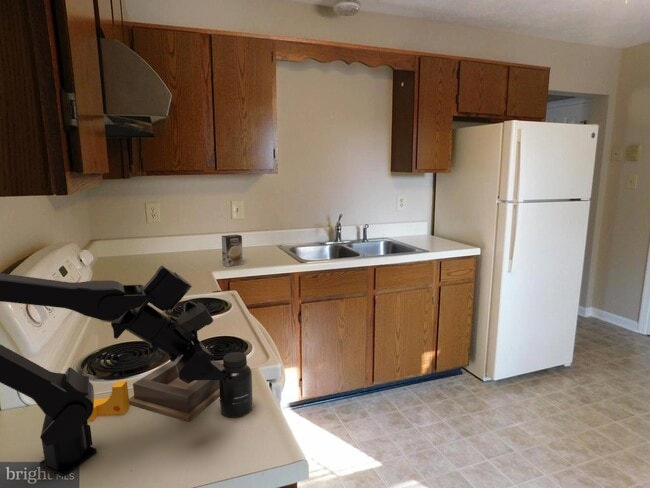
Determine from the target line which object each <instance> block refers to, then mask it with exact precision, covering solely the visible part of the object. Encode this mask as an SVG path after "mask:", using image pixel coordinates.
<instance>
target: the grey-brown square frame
mask: <svg viewBox="0 0 650 488" xmlns="http://www.w3.org/2000/svg"><path fill="white" fill-rule="evenodd" d="M182 356H183V355H181V356H180V357H177V358H176V359H175V361H174V362H172V361H171V360H169V362H167V363H165V364H164V365H162V366H160V367H159V368H157V369H154V370H153V371H151V372H150V373H148V374H147V375H145V376H143V377H142V378H140V379H138V380H136V381H135V382H134V383H132V388H133V389H132V390H133V396H131V397H129V405H130V406H134V407H138V408H141V409H143V410H144V409H145V410H148V411H151V412H155V413H158V414H161V415H164V416H168V417H171V418H175V419H179V420H183V421H185V422H188V423H189V422H190V421H192V420H193V419H194V418H195V417H197V416H198V415H199V414H200V413H201V412H203V411H205V409H206V408H207V407H208V406H209V405H211V404H212V403H213V402H214V401H216V400H217V399H218V398H220V389H219V380H195V381H193V382H191V383H189V384H187V383H186V382H184V381H182V380H180V379H179V376H178V373H177V370H176V364H177V362H178V361H179V360H180V359H181V358H182ZM211 362H212V363H213V364H214V365H215V366H217V367H218V368H219V369H220V370H221V369H222V368H223V362H218V361H217V362H216V361H213V360H212V361H211Z"/></svg>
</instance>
